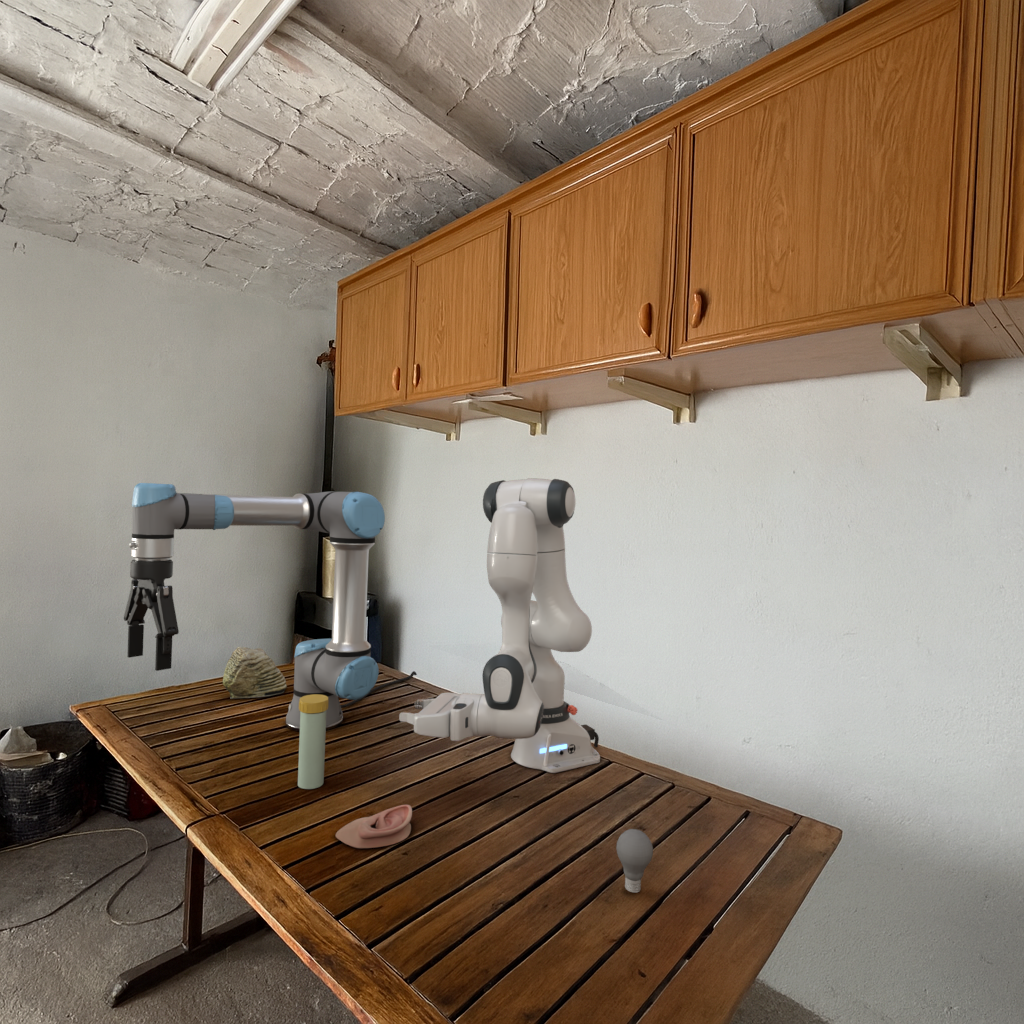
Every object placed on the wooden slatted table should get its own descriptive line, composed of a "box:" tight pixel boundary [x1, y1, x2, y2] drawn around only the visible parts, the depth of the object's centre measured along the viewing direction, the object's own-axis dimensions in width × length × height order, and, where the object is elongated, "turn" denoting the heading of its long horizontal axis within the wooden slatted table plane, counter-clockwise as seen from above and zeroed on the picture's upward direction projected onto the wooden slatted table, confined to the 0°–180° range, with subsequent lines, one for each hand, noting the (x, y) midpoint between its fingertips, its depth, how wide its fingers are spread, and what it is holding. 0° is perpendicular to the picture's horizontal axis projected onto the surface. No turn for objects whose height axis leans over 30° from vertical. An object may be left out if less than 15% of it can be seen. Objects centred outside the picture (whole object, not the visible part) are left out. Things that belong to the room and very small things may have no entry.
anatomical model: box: [335, 804, 413, 849], centre depth 120 cm, size 13×4×12 cm
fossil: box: [222, 646, 288, 699], centre depth 198 cm, size 9×18×15 cm, turn 132°
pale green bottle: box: [297, 711, 327, 790], centre depth 139 cm, size 6×6×18 cm
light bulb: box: [615, 828, 654, 894], centre depth 106 cm, size 6×6×10 cm
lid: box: [299, 694, 329, 713], centre depth 139 cm, size 6×6×2 cm
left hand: (148, 662), depth 129 cm, fingers open, 13 cm apart
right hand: (408, 710), depth 140 cm, fingers open, 8 cm apart
